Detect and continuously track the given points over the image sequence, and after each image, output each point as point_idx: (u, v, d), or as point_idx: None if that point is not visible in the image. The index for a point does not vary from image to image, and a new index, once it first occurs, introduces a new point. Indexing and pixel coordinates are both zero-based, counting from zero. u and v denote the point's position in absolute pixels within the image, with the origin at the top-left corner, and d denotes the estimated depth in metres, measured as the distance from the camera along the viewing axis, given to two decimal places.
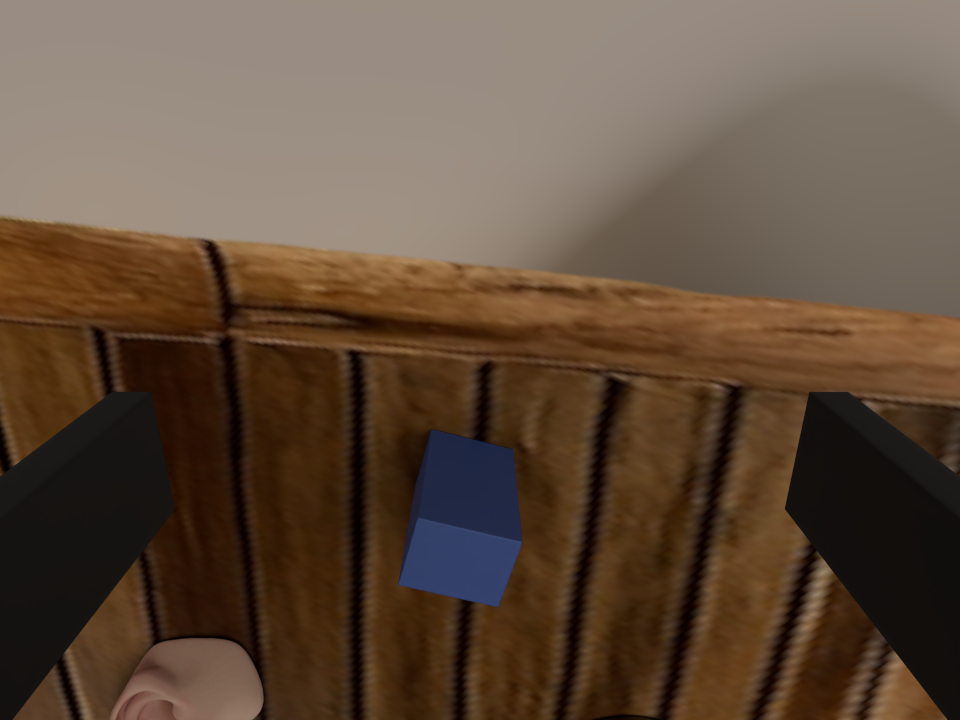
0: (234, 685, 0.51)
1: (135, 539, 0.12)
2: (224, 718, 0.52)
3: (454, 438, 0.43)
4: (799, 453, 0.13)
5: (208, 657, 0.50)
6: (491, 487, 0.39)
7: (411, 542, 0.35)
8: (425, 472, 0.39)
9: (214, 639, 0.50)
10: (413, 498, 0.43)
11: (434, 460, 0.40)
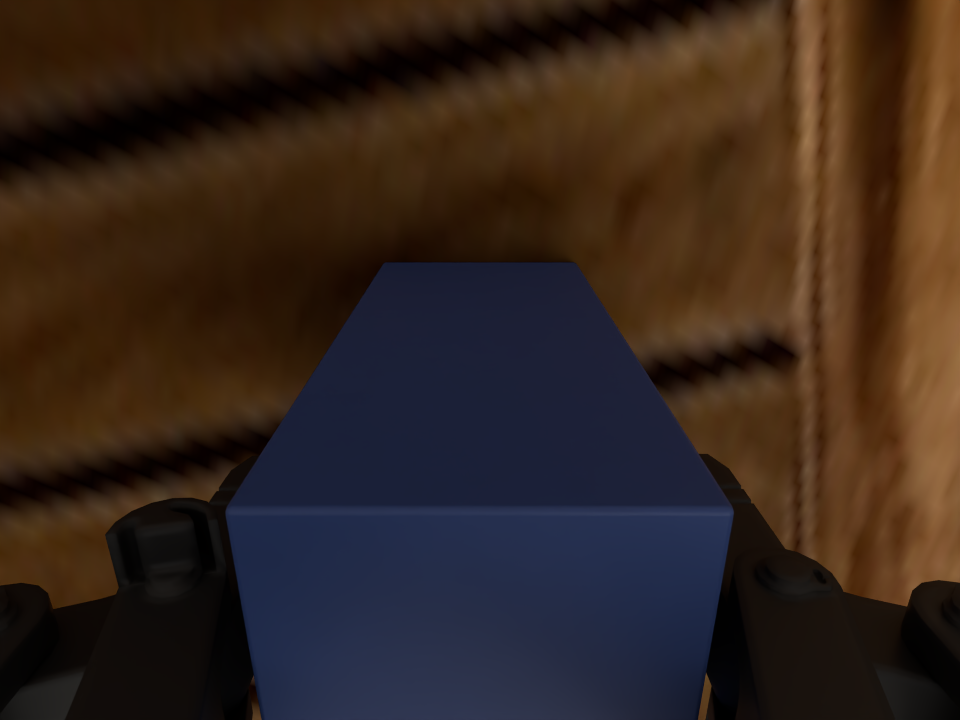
0: None
1: None
2: None
3: None
4: None
5: None
6: None
7: (556, 514, 0.06)
8: (624, 342, 0.10)
9: None
10: (386, 284, 0.13)
11: None
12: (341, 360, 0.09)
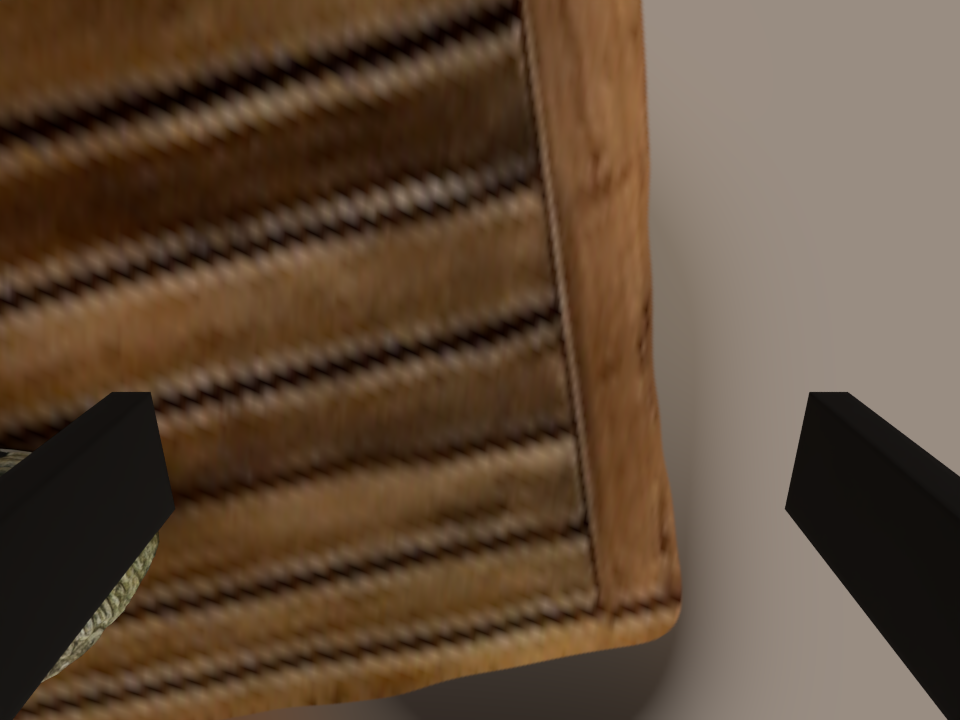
0: None
1: (135, 539, 0.12)
2: None
3: None
4: (799, 454, 0.13)
5: None
6: None
7: None
8: None
9: None
10: None
11: None
12: None
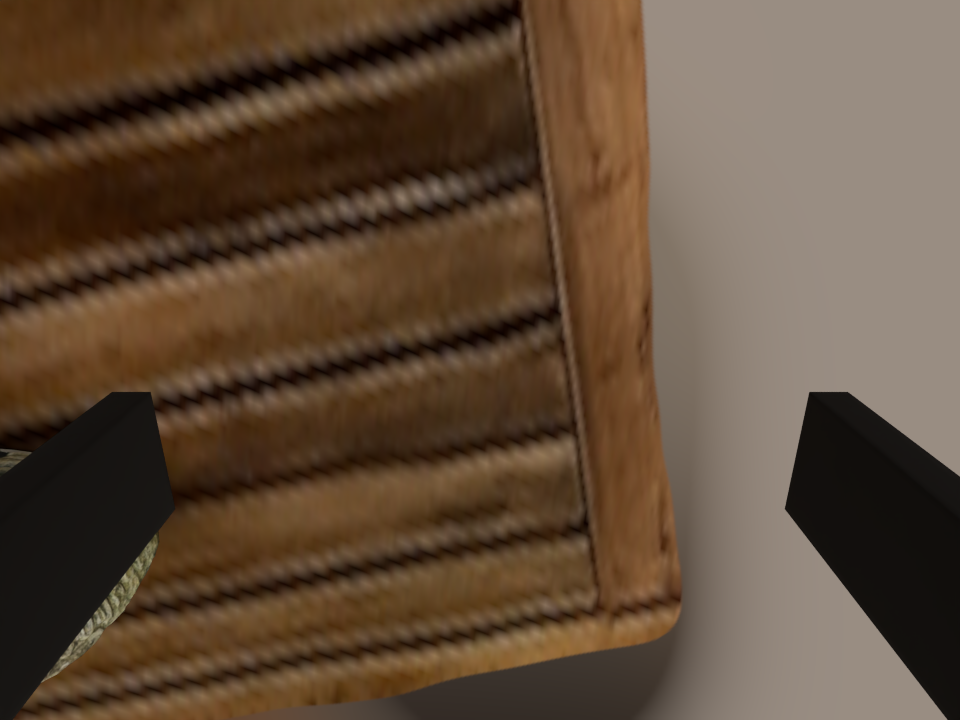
0: None
1: (135, 539, 0.12)
2: None
3: None
4: (799, 454, 0.13)
5: None
6: None
7: None
8: None
9: None
10: None
11: None
12: None
